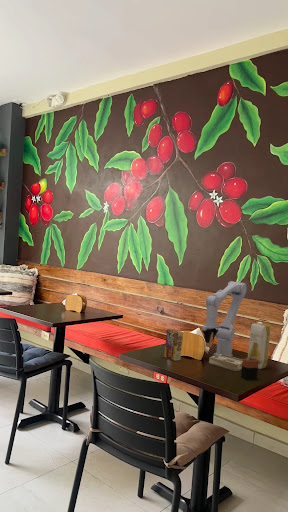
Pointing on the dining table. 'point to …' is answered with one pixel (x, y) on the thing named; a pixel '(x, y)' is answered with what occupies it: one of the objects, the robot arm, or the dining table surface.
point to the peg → (210, 341)
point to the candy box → (173, 344)
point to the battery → (249, 368)
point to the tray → (226, 362)
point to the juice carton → (259, 343)
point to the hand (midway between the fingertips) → (209, 342)
